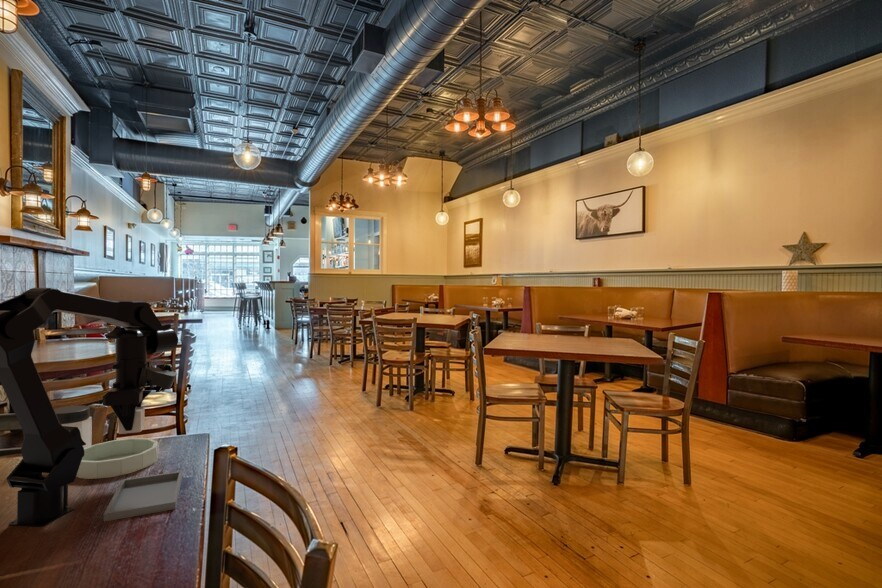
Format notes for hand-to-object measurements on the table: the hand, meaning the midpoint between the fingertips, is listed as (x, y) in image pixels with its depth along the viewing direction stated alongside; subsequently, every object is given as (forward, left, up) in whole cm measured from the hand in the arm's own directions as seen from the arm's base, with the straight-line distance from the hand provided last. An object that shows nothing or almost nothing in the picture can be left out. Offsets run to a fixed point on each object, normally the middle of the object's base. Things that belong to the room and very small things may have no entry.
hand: (131, 427), depth 97 cm
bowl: (+6, +8, -11) cm, 15 cm away
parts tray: (-9, -11, -11) cm, 18 cm away
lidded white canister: (+10, +24, -11) cm, 29 cm away
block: (0, 0, -1) cm, 1 cm away
